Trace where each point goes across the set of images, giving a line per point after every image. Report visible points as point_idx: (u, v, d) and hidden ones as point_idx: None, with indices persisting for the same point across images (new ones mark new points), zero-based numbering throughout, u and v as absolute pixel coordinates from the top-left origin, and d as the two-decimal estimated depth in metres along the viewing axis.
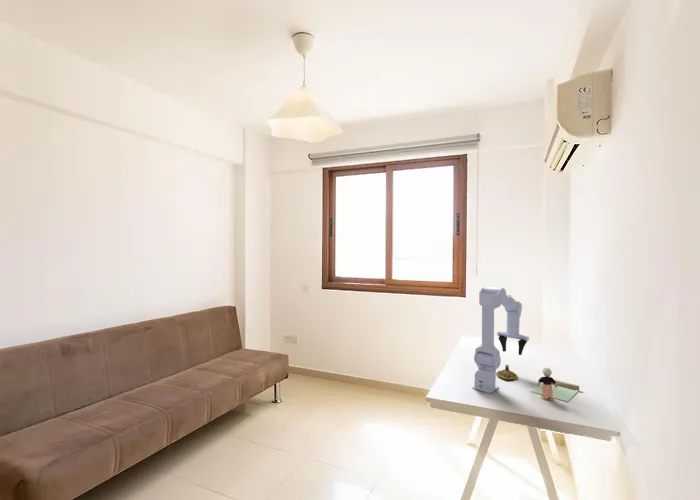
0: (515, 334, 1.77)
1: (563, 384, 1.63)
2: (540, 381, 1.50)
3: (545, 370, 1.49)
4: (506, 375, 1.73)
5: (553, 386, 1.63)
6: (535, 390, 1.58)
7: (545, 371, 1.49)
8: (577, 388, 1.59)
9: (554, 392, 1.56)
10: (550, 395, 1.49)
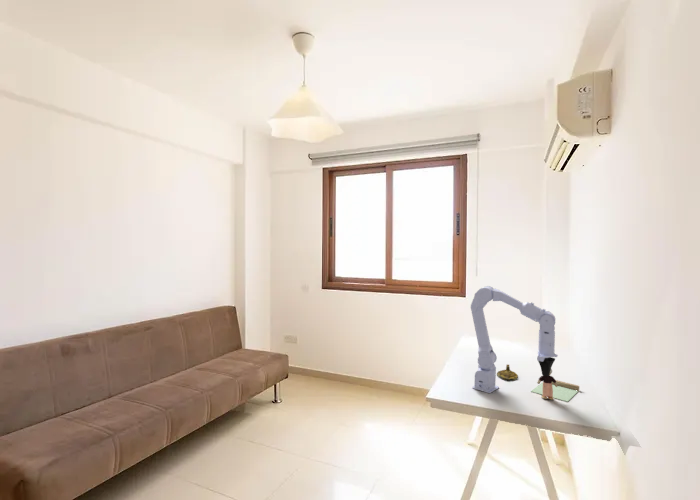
0: (539, 351, 1.49)
1: (563, 384, 1.63)
2: (540, 379, 1.50)
3: None
4: (506, 375, 1.73)
5: (553, 386, 1.63)
6: (535, 390, 1.58)
7: None
8: (577, 388, 1.59)
9: (554, 392, 1.56)
10: (550, 394, 1.49)
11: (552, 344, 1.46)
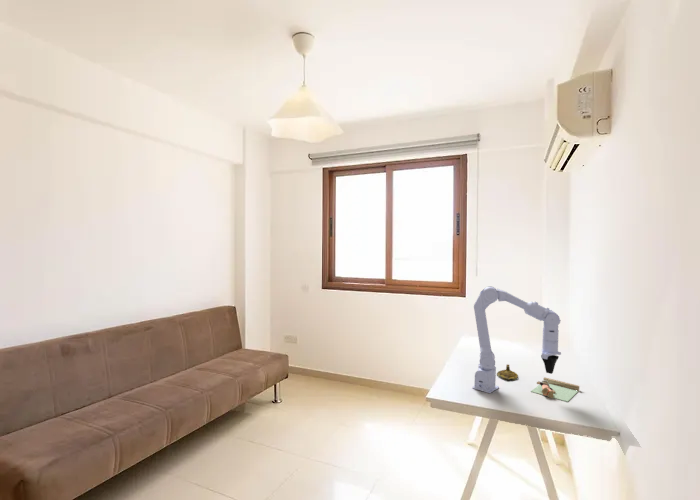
0: (543, 349, 1.52)
1: (563, 384, 1.63)
2: (539, 382, 1.59)
3: None
4: (506, 375, 1.73)
5: (553, 386, 1.63)
6: (535, 390, 1.58)
7: None
8: (577, 388, 1.59)
9: None
10: (550, 390, 1.53)
11: (556, 342, 1.50)
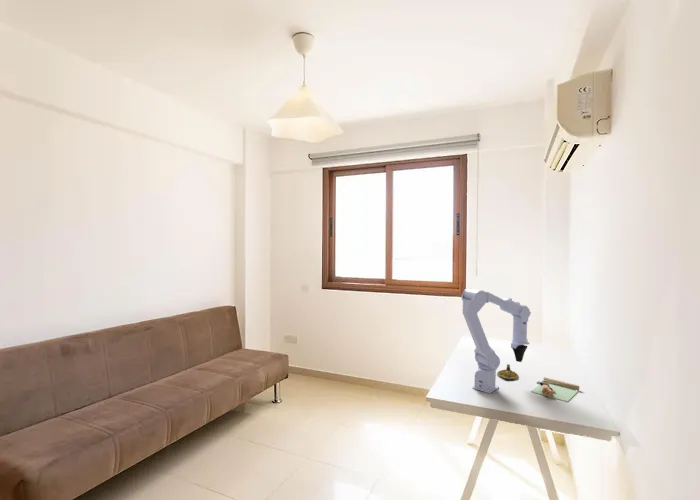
0: (513, 339, 1.65)
1: (563, 384, 1.63)
2: (539, 382, 1.59)
3: None
4: (507, 375, 1.73)
5: (553, 386, 1.63)
6: (535, 390, 1.58)
7: None
8: (577, 388, 1.59)
9: None
10: (550, 390, 1.53)
11: (524, 333, 1.63)
